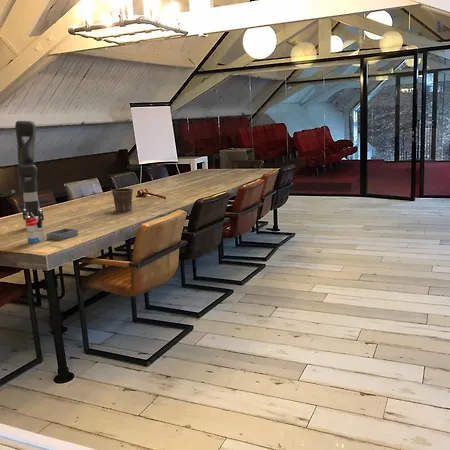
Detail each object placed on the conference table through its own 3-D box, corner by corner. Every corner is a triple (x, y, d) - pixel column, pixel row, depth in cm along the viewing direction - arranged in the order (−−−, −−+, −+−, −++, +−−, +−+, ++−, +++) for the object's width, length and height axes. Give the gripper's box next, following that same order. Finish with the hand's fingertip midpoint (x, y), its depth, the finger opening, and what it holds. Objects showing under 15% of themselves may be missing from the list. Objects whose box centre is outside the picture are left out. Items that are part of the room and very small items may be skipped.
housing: (46, 239, 290) (46, 233, 289) (65, 233, 302) (64, 228, 301) (59, 240, 285) (59, 234, 284) (78, 235, 297) (77, 229, 297)
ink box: (34, 243, 280) (31, 218, 277) (27, 243, 282) (24, 218, 279) (45, 240, 288) (42, 215, 285) (38, 239, 290) (35, 215, 286)
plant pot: (137, 211, 371) (135, 190, 367) (115, 213, 364) (114, 192, 361) (131, 207, 385) (129, 187, 382) (111, 210, 379) (109, 189, 375)
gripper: (45, 199, 279) (48, 227, 283) (27, 198, 286) (31, 225, 289) (34, 201, 273) (38, 229, 276) (17, 200, 279) (20, 228, 283)
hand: (34, 227), depth 283 cm, fingers open, 8 cm apart
